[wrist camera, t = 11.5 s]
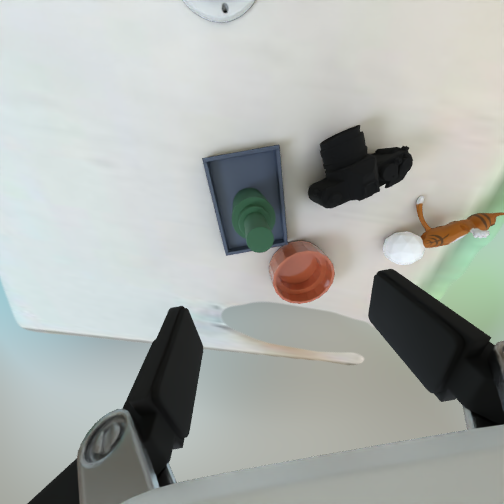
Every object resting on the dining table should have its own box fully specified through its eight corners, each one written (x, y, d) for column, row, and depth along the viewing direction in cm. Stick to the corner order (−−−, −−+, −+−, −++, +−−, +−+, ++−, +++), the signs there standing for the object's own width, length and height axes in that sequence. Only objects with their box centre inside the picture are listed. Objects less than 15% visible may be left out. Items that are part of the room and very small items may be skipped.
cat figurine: (405, 274, 33) (545, 229, 27) (375, 214, 34) (504, 159, 28) (382, 266, 45) (475, 234, 39) (360, 222, 46) (448, 184, 41)
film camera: (377, 112, 31) (428, 94, 23) (385, 170, 35) (431, 173, 27) (290, 157, 33) (308, 155, 24) (308, 208, 37) (328, 221, 29)
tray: (204, 158, 32) (202, 158, 30) (276, 145, 32) (279, 144, 30) (226, 250, 39) (226, 255, 37) (285, 240, 39) (287, 244, 37)
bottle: (229, 190, 34) (224, 216, 18) (263, 184, 34) (287, 205, 18) (236, 223, 36) (236, 270, 20) (267, 217, 36) (291, 260, 20)
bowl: (265, 245, 39) (269, 257, 34) (323, 235, 39) (335, 245, 34) (271, 291, 45) (276, 308, 40) (323, 282, 45) (333, 297, 40)
